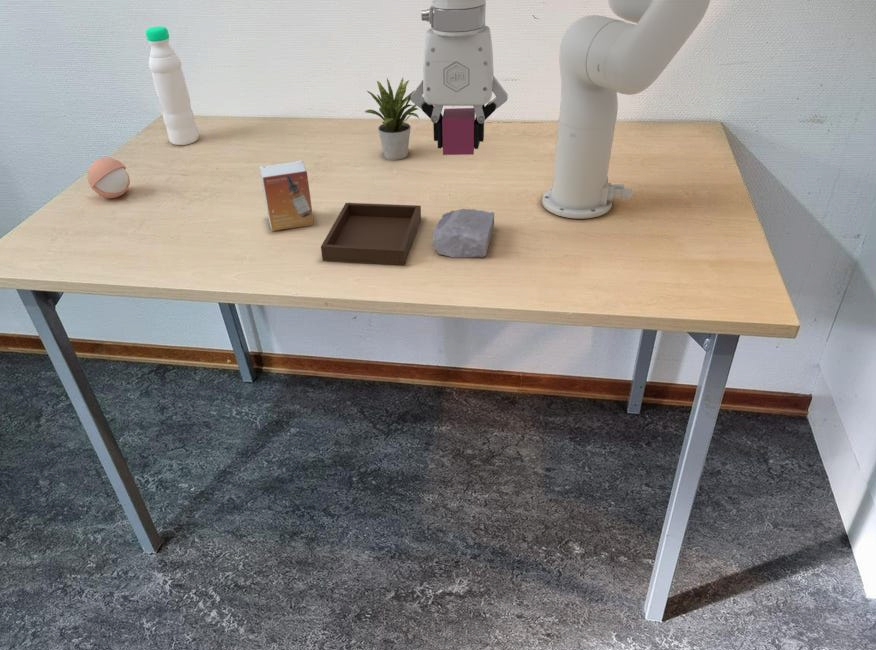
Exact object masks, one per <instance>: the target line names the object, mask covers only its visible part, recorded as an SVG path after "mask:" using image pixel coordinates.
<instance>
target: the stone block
mask: <svg viewBox="0 0 876 650" xmlns="http://www.w3.org/2000/svg"><path fill="white" fill-rule="evenodd" d="M494 226H495V212H494V211H491V212H490V211H484V210H480V209H475V208H473V209H471V208H461V209H457V210H450V211H449V212H445V213H444V214H442V215H441V219H439V220H438V222H437V223H436V225H435V227H434V230H433V232H432V238H433V239H432V240H433V247H434V249H435V251H436V252H437V253H438V255H442V256H446V257H449V258H453V259H454V258H469V259H470V258H471V259H472V258H481V259H482V258H485V257H486V256H487V254H488V251H489V246H490V242H491V239H492V235H493V230H494Z"/></svg>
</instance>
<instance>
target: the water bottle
mask: <svg viewBox="0 0 876 650" xmlns="http://www.w3.org/2000/svg"><path fill="white" fill-rule="evenodd" d="M145 37H146V40H147V42H148V43H149V45H150V51H149V58H148V68H149V70H150V72H151V77H152V81H153V86H154V90H155V93H156V94H155V95H156V97H157V100H158V103H159V104H158V105H159V106H160V109H161V113H162V119H163V123H164V125H165V127H166V134H167V138H168V141H169V143H170V144H172V145H175V146H186V145H190V144H193V143H195V142H197V141H198V139H199V137H200V135H199V130H198V127H197V125H196V121H195V115H194V111H193V109H192V104H191V99H190V95H189V90H188V86H187V82H186V78H185V75H184V72H183V69H182V61H181V59H180V56H178V55H177V53H176V52H175V50H174V49H173V47H171V45H170V33H169V30H168V29H167V27H165V26H151V27H148V28H147V29H146V30H145Z"/></svg>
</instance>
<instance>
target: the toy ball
mask: <svg viewBox="0 0 876 650" xmlns="http://www.w3.org/2000/svg"><path fill="white" fill-rule="evenodd" d="M126 169H127V167H126V165H125V164H124V163H122V162H121V161H120V160H118V159H115V158H113V157H100V158H97V159H96V160H94V161H93V162H92V163H91V164H90V166H89V167H88V170H87V181H88V184H89V186H90V188H91V189H92V190H93V191H94V192H95V193H96V194H97V195H99V196H101V197H103V198H106V199H107V198H108V199H115V198H118V197H121V196H122V195H124V194H125V193H126V192H127V191H128V190H129V187H130V184H131V178H130V176H129V174H128V172H127V170H126Z"/></svg>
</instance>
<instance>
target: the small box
mask: <svg viewBox="0 0 876 650" xmlns="http://www.w3.org/2000/svg"><path fill="white" fill-rule="evenodd" d="M258 169H259V174H260V180H261V186H262V192H263V197H264V203H265V209H266V214H267V220H268V222H269V227H270V230H271V232H276V231H279V230H286V229H295V228H300V227H310V226H314V224H315V222H314V214H313V207H312V206H313V205H312V199H311V191H310V185H309V178H308V171H307V169H306V166H305V164H304V162H303V160H302V159H300V160H295V161H290V162H284V163H283V162H282V163H275V164H270V165H260V166H259V167H258Z"/></svg>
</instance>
